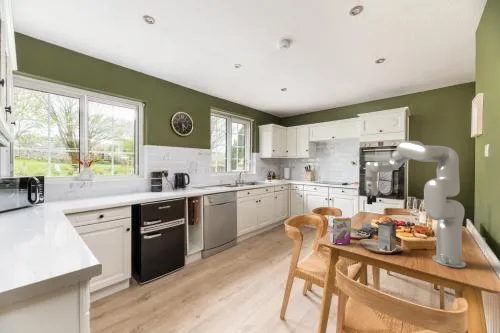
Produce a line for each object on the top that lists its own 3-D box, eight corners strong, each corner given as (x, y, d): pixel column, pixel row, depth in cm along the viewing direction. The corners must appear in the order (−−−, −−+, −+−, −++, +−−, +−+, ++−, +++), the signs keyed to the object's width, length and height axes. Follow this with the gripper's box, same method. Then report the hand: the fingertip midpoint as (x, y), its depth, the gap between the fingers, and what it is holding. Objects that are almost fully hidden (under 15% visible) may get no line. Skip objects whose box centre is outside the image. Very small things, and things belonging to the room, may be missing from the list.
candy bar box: (333, 245, 138) (333, 218, 137) (329, 242, 143) (330, 216, 142) (351, 244, 138) (351, 218, 138) (347, 241, 143) (347, 216, 143)
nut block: (368, 234, 158) (369, 223, 158) (362, 232, 161) (362, 222, 161) (371, 232, 161) (371, 222, 161) (364, 231, 164) (364, 221, 164)
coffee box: (384, 247, 134) (384, 220, 133) (396, 250, 129) (396, 222, 128) (377, 251, 128) (378, 223, 127) (390, 254, 123) (390, 225, 123)
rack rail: (367, 237, 151) (367, 234, 151) (355, 234, 157) (355, 231, 157) (377, 230, 165) (377, 228, 165) (365, 228, 171) (365, 226, 171)
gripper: (373, 180, 150) (373, 205, 150) (381, 178, 163) (381, 202, 163) (361, 179, 156) (362, 204, 156) (369, 178, 168) (369, 201, 168)
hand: (371, 203), depth 159 cm, fingers open, 9 cm apart
